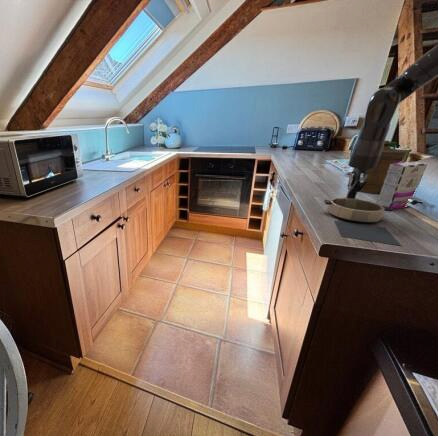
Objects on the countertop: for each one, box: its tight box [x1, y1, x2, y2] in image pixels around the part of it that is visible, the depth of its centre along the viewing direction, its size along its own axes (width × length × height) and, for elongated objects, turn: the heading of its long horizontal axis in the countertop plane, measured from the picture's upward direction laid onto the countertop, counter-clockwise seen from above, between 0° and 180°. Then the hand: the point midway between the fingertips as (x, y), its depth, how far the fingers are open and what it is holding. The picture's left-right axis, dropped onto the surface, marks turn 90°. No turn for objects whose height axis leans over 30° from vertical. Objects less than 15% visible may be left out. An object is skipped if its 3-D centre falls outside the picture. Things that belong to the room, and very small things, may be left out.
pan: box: [323, 197, 393, 224], centre depth 83 cm, size 18×14×5 cm
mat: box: [334, 220, 402, 247], centre depth 73 cm, size 13×13×1 cm
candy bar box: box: [376, 161, 428, 211], centre depth 89 cm, size 11×5×16 cm, turn 105°
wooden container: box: [360, 140, 407, 195], centre depth 110 cm, size 15×15×22 cm
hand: (349, 201), depth 90 cm, fingers closed
